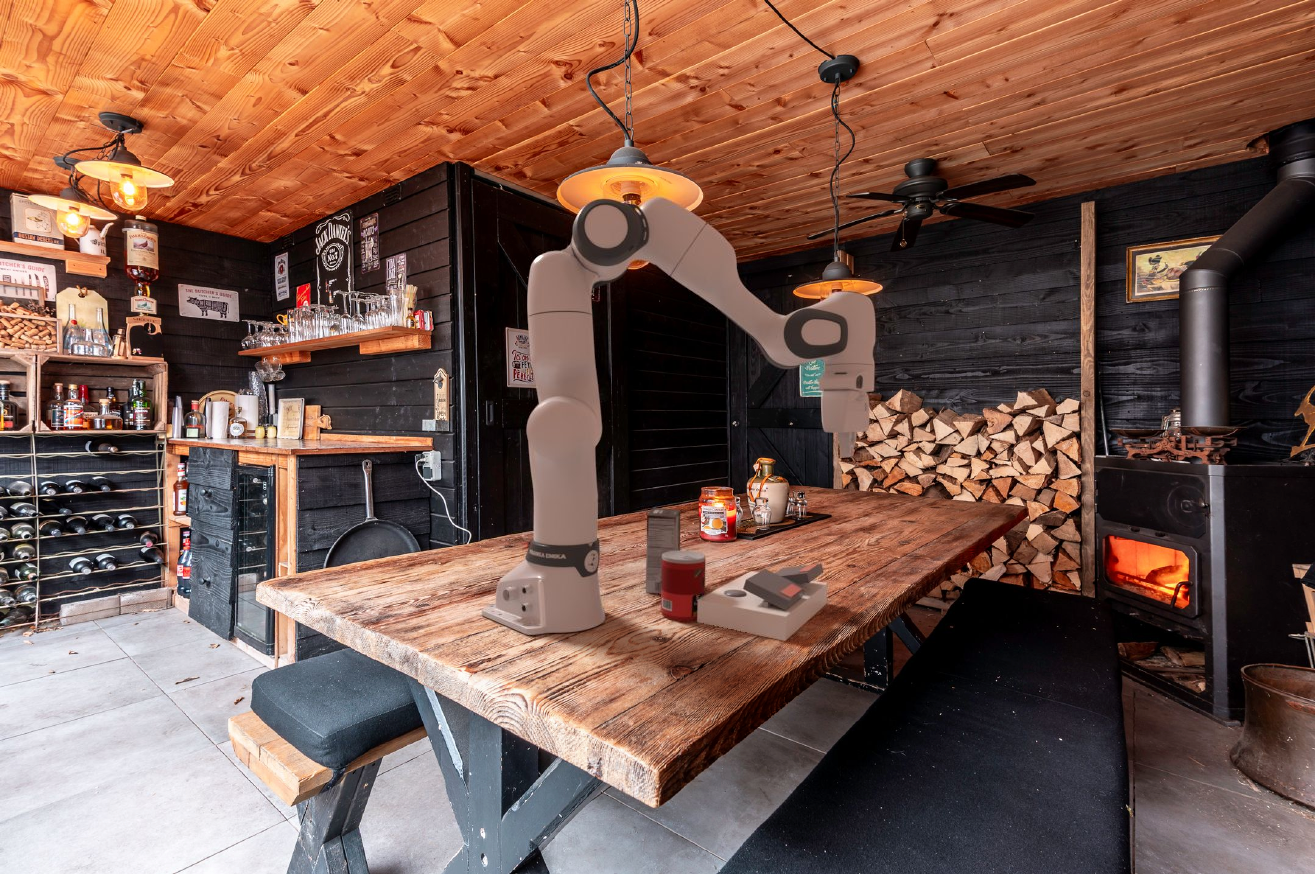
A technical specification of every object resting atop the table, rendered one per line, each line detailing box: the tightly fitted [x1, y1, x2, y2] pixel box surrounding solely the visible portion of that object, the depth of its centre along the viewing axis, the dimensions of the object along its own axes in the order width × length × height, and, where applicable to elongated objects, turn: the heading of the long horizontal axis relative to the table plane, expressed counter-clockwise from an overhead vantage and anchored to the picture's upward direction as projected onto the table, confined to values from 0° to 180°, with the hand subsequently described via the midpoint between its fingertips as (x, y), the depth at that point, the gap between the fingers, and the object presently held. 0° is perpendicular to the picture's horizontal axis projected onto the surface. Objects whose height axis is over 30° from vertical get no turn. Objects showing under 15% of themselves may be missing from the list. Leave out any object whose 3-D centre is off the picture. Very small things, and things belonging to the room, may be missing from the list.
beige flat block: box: [696, 570, 828, 642], centre depth 112 cm, size 16×24×5 cm, turn 149°
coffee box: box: [645, 507, 682, 595], centre depth 127 cm, size 9×6×16 cm
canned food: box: [660, 550, 707, 622], centre depth 110 cm, size 8×8×11 cm
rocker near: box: [743, 568, 806, 610], centre depth 106 cm, size 8×9×2 cm
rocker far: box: [774, 562, 824, 584], centre depth 116 cm, size 8×9×2 cm
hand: (846, 456), depth 112 cm, fingers closed
